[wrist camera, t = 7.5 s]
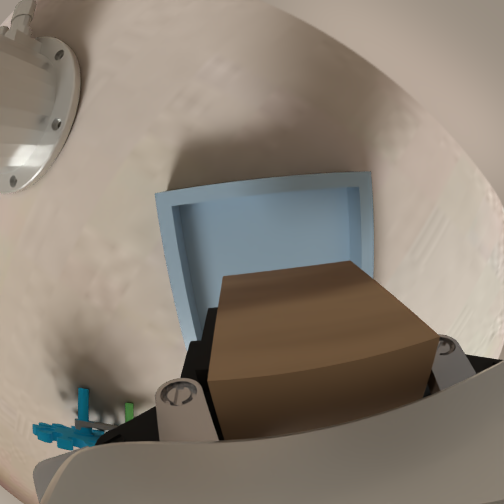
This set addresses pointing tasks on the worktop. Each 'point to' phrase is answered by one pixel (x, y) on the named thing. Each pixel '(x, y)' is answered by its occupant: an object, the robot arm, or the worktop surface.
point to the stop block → (313, 350)
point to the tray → (260, 233)
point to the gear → (77, 427)
